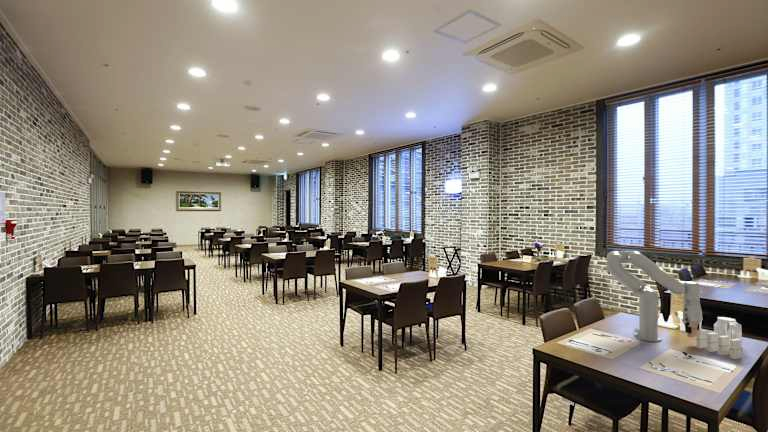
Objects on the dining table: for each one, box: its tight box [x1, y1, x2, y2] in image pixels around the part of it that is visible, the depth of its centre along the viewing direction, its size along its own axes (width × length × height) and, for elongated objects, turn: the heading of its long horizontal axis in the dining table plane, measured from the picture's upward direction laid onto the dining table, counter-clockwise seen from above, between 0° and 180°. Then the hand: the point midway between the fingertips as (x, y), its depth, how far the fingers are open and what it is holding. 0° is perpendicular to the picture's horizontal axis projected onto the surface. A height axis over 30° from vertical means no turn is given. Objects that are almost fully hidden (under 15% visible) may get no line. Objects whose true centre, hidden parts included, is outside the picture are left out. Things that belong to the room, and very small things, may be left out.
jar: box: [713, 316, 737, 336], centre depth 221 cm, size 12×10×15 cm
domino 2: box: [695, 329, 708, 349], centre depth 214 cm, size 2×6×10 cm, turn 106°
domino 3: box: [706, 332, 718, 353], centre depth 209 cm, size 2×6×10 cm, turn 106°
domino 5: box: [729, 338, 742, 360], centre depth 198 cm, size 2×6×10 cm, turn 106°
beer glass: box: [725, 322, 743, 351], centre depth 211 cm, size 7×7×15 cm
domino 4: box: [717, 335, 730, 356], centre depth 204 cm, size 2×6×10 cm, turn 106°
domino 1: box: [686, 320, 698, 338], centre depth 219 cm, size 2×6×10 cm, turn 106°
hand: (692, 331), depth 219 cm, fingers closed on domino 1, 6 cm apart
